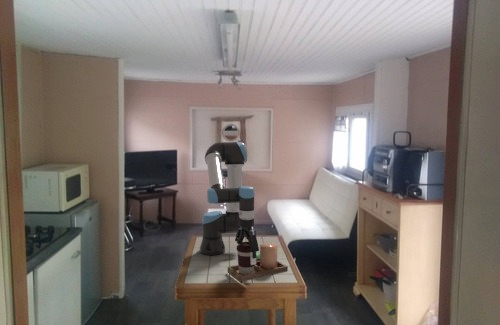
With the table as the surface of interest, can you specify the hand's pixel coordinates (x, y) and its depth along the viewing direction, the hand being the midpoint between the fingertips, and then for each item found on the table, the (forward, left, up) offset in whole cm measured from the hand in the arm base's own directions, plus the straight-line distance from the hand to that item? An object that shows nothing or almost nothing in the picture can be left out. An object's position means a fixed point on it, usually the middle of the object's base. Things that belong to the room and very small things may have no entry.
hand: (246, 260), depth 191 cm
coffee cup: (0, 0, -7) cm, 7 cm away
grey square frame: (-12, +12, -8) cm, 19 cm away
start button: (-12, +12, -6) cm, 18 cm away
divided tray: (0, +6, -8) cm, 10 cm away
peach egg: (0, +13, -7) cm, 15 cm away
